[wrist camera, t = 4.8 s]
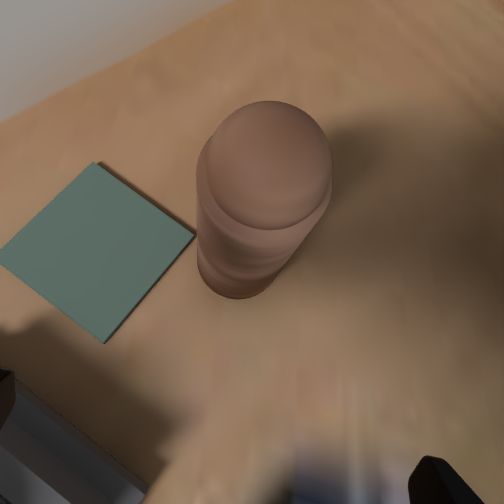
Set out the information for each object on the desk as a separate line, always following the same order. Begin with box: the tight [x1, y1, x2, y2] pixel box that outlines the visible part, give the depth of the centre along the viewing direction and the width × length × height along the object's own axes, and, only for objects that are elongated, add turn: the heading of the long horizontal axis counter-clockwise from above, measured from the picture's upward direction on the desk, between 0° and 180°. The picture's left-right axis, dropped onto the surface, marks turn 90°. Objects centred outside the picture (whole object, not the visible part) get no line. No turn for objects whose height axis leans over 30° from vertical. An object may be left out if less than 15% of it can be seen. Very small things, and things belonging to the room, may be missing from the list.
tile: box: [0, 162, 194, 344], centre depth 23 cm, size 8×8×1 cm
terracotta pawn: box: [196, 101, 332, 299], centre depth 18 cm, size 5×5×13 cm
